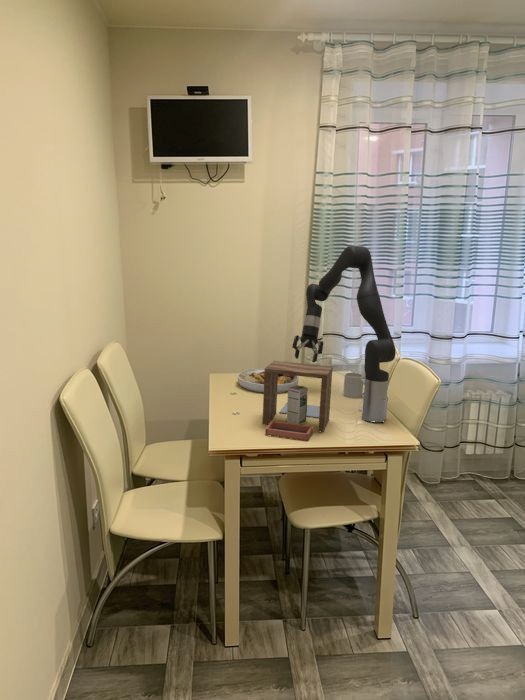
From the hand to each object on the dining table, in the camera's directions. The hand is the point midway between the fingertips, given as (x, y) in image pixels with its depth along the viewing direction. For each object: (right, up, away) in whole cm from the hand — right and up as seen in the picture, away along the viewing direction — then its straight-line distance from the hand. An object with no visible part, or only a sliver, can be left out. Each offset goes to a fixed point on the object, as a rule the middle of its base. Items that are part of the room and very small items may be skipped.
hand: (305, 360), depth 241 cm
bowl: (-17, -13, +16) cm, 27 cm away
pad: (-2, -21, -21) cm, 30 cm away
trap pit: (-10, -26, -47) cm, 55 cm away
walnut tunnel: (-6, -24, -35) cm, 43 cm away
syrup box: (-6, -24, -35) cm, 43 cm away
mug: (+23, -17, +3) cm, 29 cm away
